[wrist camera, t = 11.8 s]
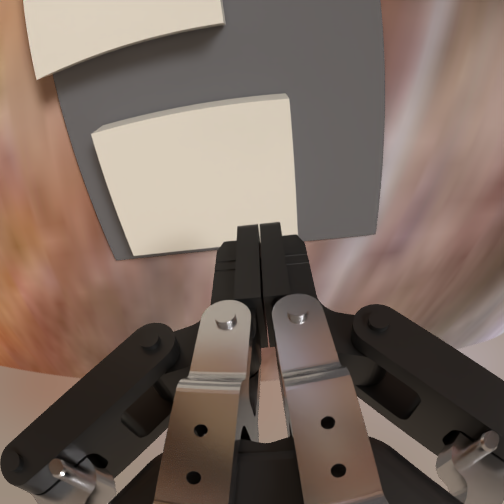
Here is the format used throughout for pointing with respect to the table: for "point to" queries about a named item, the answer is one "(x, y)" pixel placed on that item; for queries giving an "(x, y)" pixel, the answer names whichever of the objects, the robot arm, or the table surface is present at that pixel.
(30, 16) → the tile
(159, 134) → the tile
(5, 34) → the table surface
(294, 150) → the mat
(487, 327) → the table surface
